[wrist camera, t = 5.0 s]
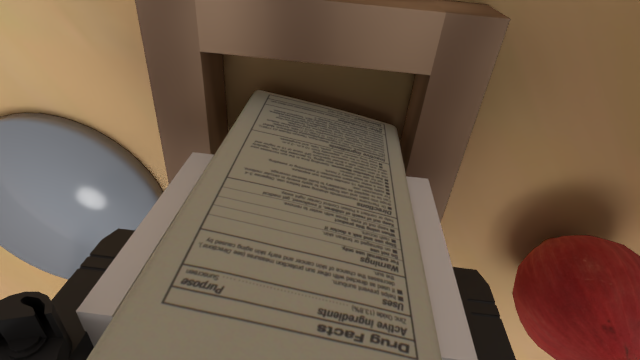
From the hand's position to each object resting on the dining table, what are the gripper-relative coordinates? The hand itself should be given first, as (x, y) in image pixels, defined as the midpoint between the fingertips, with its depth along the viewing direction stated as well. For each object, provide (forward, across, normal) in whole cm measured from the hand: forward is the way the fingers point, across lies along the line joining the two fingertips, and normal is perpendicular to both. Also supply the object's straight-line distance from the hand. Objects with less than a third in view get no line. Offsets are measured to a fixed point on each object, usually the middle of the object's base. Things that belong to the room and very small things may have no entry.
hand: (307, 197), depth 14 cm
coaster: (+5, +13, +6) cm, 15 cm away
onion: (+5, -13, +5) cm, 14 cm away
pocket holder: (+5, 0, 0) cm, 5 cm away
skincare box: (+4, 0, 0) cm, 4 cm away
